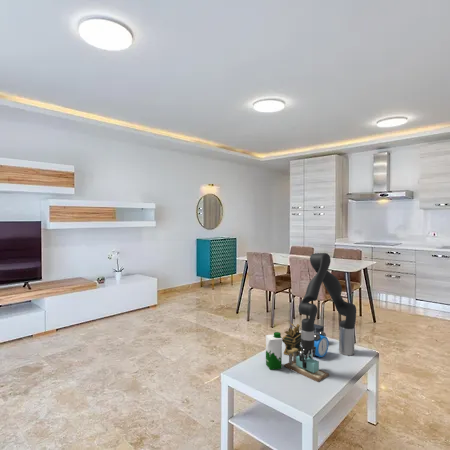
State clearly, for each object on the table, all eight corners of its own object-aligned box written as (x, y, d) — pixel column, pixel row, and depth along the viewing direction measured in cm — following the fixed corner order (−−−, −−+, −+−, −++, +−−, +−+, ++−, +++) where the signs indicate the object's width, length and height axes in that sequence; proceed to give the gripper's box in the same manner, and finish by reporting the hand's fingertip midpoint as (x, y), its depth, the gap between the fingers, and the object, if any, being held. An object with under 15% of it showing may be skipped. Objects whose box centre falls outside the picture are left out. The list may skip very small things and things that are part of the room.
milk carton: (283, 369, 185) (283, 335, 185) (268, 370, 183) (269, 336, 183) (277, 362, 194) (278, 330, 193) (263, 364, 192) (264, 331, 191)
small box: (302, 340, 229) (302, 324, 228) (306, 337, 234) (306, 321, 233) (319, 345, 220) (320, 328, 220) (323, 342, 225) (324, 325, 225)
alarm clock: (317, 360, 197) (317, 336, 197) (309, 357, 202) (309, 333, 201) (328, 354, 206) (329, 331, 205) (320, 351, 210) (320, 329, 210)
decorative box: (291, 346, 219) (291, 317, 218) (304, 349, 213) (305, 320, 213) (278, 356, 203) (278, 325, 202) (292, 360, 197) (292, 329, 196)
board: (295, 361, 196) (295, 346, 196) (328, 375, 178) (329, 359, 178) (284, 366, 189) (284, 351, 188) (317, 382, 171) (318, 365, 171)
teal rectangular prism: (301, 362, 189) (301, 354, 189) (318, 370, 180) (318, 361, 180) (296, 365, 186) (296, 356, 186) (313, 372, 177) (313, 364, 177)
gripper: (309, 332, 190) (308, 360, 190) (294, 338, 181) (294, 368, 181) (320, 336, 184) (319, 365, 185) (305, 342, 175) (305, 373, 175)
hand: (307, 366), depth 183 cm, fingers closed on teal rectangular prism, 5 cm apart
